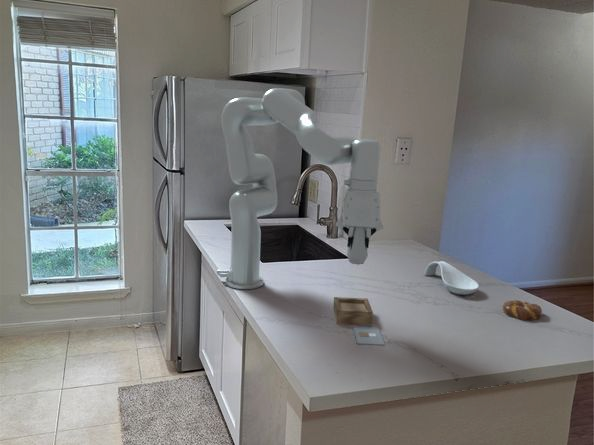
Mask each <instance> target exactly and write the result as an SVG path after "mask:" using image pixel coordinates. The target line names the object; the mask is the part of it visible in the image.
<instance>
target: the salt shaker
mask: <svg viewBox="0 0 594 445" xmlns="http://www.w3.org/2000/svg"><path fill="white" fill-rule="evenodd" d="M365 235H366V233H365V228H363V227H354V230H353V238H354V240H353V244H352V248H351V244H350V247H348V246H347V252H346V257H347V260H348V262H349V263H350V264H352V265H357V266H358V265H364V263H365V261H366V260H367V258H368V256H369V255H368V254H369V253H368V248H367V247H365V238H366V237H365Z"/></svg>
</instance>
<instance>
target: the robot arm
mask: <svg viewBox="0 0 594 445" xmlns="http://www.w3.org/2000/svg"><path fill="white" fill-rule="evenodd" d="M316 116H317V115H316V113H315V111H314V110H313V109H311V108H310V107H308V106H307V105H306V100H305V97H304V96H303V94H302V93H301V92H299V91H298V90H296V89H293V88H281V87H275V88H271V89H269V90H267V91H266V92H265V93H264V94H263V96H262V98H261V97H260V98H259V97H248V96H243V97H242V96H241V97H236V98H234V99H231V100H229V101H228V102H227V103H225V106H224V107H223V109H222V112H221V118H220V121H221V122H220V124H221V129H222V132H223V137H224V140H225V147H226V154H227V164H228V171H229V176H230V179H231V181H232V182H233V184H235V185H241V186H243V185H244V186H245V185H246V186H247V185H252V187H249V188H244V189H243V188H242V189H239V190H237V191H236V192H234V193H233V194H232V195H231V197H230V199H229V201H228V202H229V203H228V209H229V214H230V223H231V224H230V226H231V236H230V238H231V244H230V245H231V247H230V267H229V268H227V269H217V270H216V275H217V276H219V278H225V285H226V286H228V287H230V288H231V289H232V288H234V289H237V290H253V289H254V290H255V289H258V288H260V287H262V286H263V285H264V282H265V281H264V278H263V277H261V276H260V262H261V244H262V242H261V238H262V236H261V235H262V232H261V226H260V224H259V221H258V218H259V217H263V216H267V215H270V214H272V213H273V212H274V211H275V210H276V208H277V206H278V200H279V199H278V190H277V184H276V183H277V182H276V173H275V168H274V165H273V162H272V160H271V159H270V158H269V157H268V156H266V155H265V154H262V153H255V150H254V141H253V138H252V136H251V134H250V132H249V130H248V129H247V127H248V126H269V125H273V124H278V123H279V124H280V125H282V126H283V127H284V128H286V129H287V130H288V131H290V132H291V133H293V134H294V135H295V138H296V140H297V142H298V144H299V145H300V147H301V148H302V149H303V151H305V152H306V153H308V154H309V155H310V156H311V157H312V158H314V159H315V160H316V161H319V162H320V163H322V164H324V165H327V166H332V165H333V166H334V165H340V164H341V165H343V164H344V165H345V164H350V171H349V172H350V173H349V179H344V181H343V185H344V186H348V188H346V190H345V194H344V196H343V203H342V204H343V205H342V210H341V211H342V212H341V215H340V216H339V218H338V219H337V221H336V223H335V226H336V227H337V228H339V229H340V230H342V231H343V232H344V233H345V234H346V235H347V248H348V247H350V244H351V248H352V244H353V240H354V238H353V230H354V227H363V228H365V233H366V235H365V237H366V238H365V247H367V249H369V246H370V245H369V244H370V238H371V237H372V236H373V235H374V234H376V233H377V232H378V231H381V230H383V229H384V224H383V222H382V220H381V192H380V191H379V190H378V180H379V179H378V178H379V170H380V169H379V167H380V157H381V143H380V141H378V140H376V139H369V138H361V139H360V138H357V137H352V136H346V135H343V136H341V135H339V136H336V135H335V136H334V135H333V136H331V135H329V134H328V133H326V132H324V131H323V130H322V129H321V128H319V126H317V125H316V124H315V122H316V119H317V118H316Z"/></svg>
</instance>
